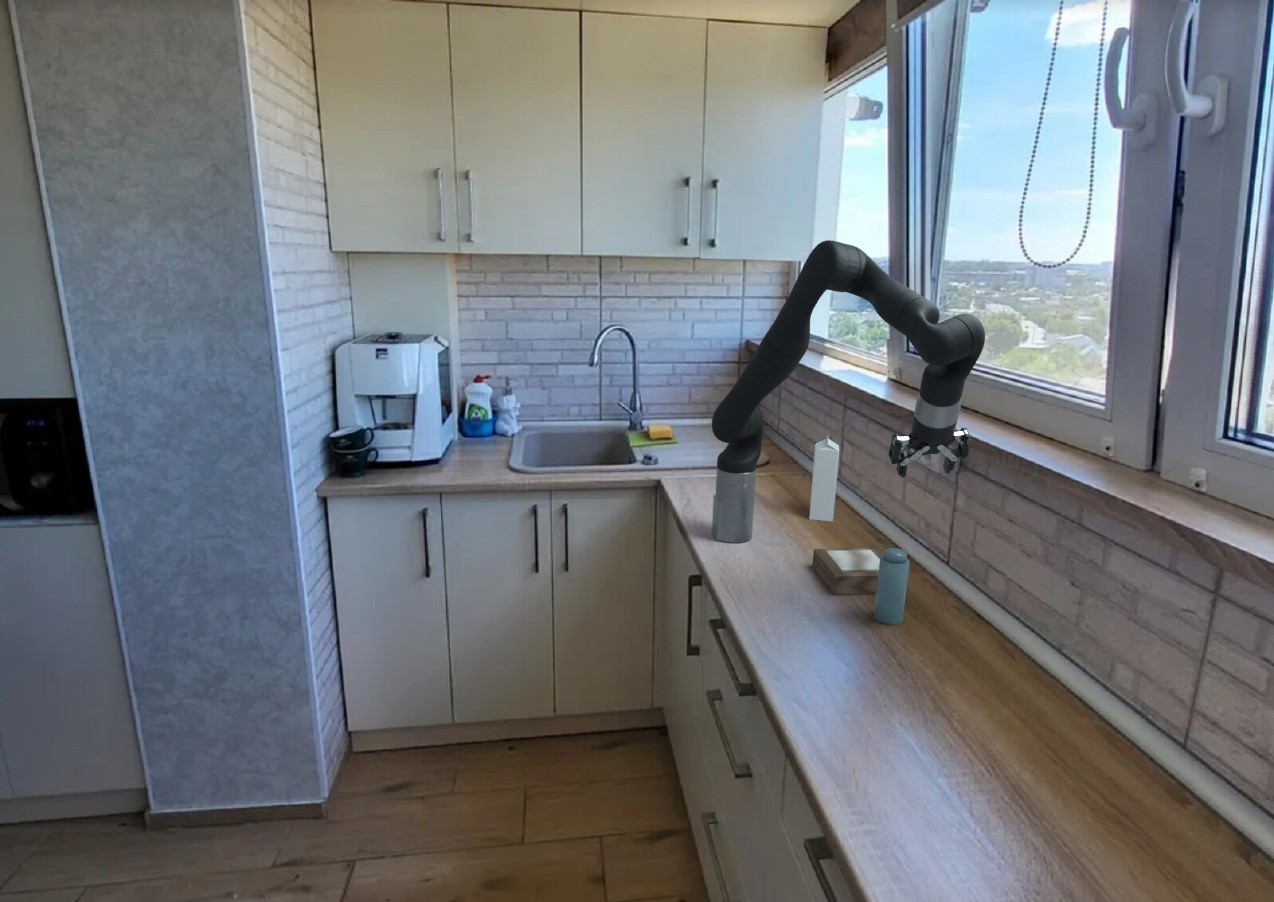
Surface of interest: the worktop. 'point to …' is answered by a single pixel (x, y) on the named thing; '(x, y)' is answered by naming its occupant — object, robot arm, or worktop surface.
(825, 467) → the milk
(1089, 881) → the worktop surface
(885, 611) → the blue capped bottle
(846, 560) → the plinth
